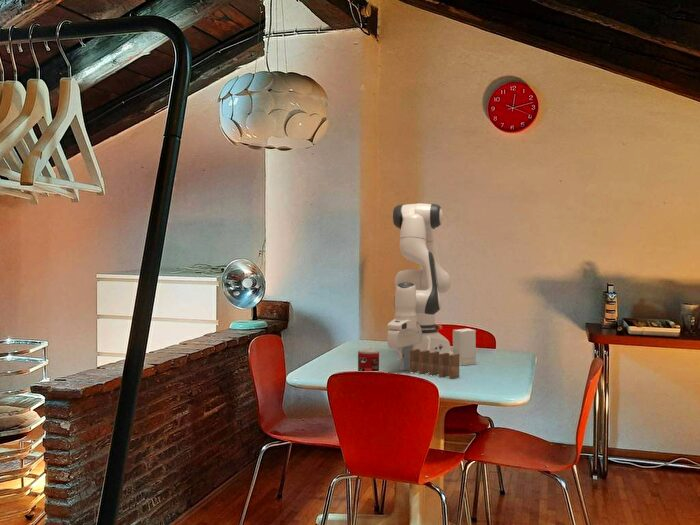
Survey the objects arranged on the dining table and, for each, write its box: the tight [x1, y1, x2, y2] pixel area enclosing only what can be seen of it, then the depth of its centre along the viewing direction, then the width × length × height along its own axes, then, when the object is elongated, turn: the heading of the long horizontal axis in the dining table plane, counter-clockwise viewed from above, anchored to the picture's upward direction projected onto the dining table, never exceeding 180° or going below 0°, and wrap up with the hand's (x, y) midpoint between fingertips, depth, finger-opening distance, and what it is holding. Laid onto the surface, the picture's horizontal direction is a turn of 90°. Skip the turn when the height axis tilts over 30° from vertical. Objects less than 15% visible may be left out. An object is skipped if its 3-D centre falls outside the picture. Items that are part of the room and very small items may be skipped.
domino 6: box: [448, 354, 460, 380], centre depth 275 cm, size 2×5×9 cm, turn 142°
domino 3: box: [418, 350, 430, 375], centre depth 283 cm, size 2×5×9 cm, turn 142°
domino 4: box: [428, 351, 439, 377], centre depth 280 cm, size 2×5×9 cm, turn 142°
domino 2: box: [409, 349, 420, 373], centre depth 286 cm, size 2×5×9 cm, turn 142°
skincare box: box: [452, 328, 477, 367], centre depth 303 cm, size 8×6×15 cm
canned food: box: [357, 348, 380, 372], centre depth 272 cm, size 8×8×11 cm
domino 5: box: [438, 352, 449, 378], centre depth 278 cm, size 2×5×9 cm, turn 142°
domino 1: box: [399, 346, 411, 371], centre depth 289 cm, size 2×5×9 cm, turn 142°
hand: (405, 357), depth 289 cm, fingers closed on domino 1, 5 cm apart
